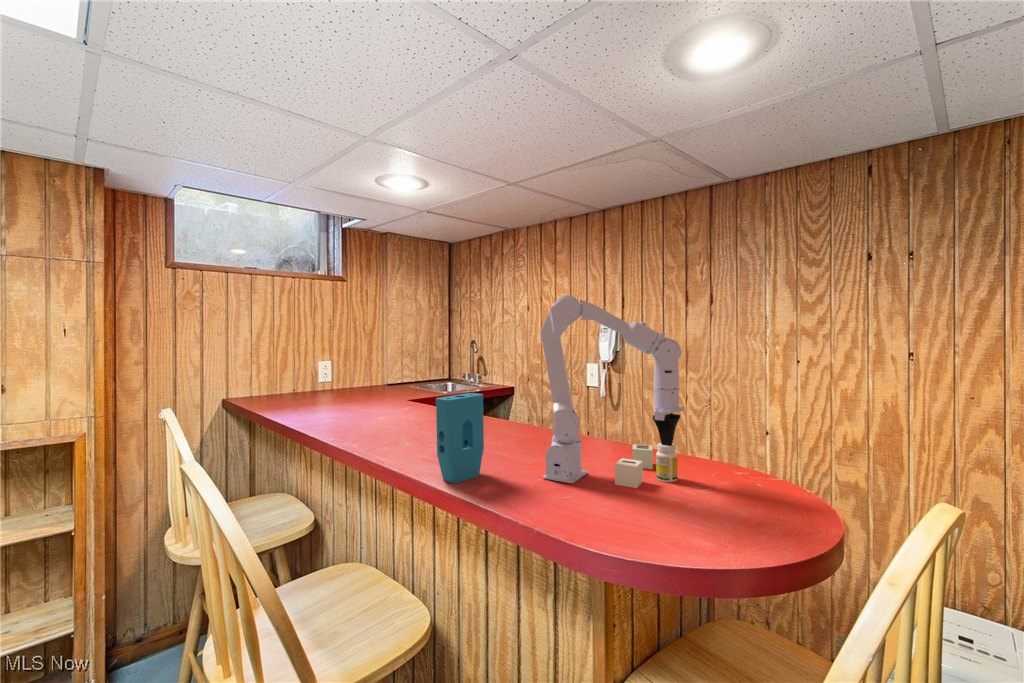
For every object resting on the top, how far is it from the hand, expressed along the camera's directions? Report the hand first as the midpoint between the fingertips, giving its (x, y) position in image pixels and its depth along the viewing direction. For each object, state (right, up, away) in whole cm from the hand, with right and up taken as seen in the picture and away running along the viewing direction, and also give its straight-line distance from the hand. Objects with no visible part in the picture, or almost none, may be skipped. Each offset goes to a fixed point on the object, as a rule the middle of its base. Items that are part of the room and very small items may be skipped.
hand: (666, 445), depth 110 cm
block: (-50, -9, +4) cm, 50 cm away
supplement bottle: (0, -9, 0) cm, 9 cm away
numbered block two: (-3, -8, +11) cm, 14 cm away
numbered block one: (-10, -9, -2) cm, 13 cm away
